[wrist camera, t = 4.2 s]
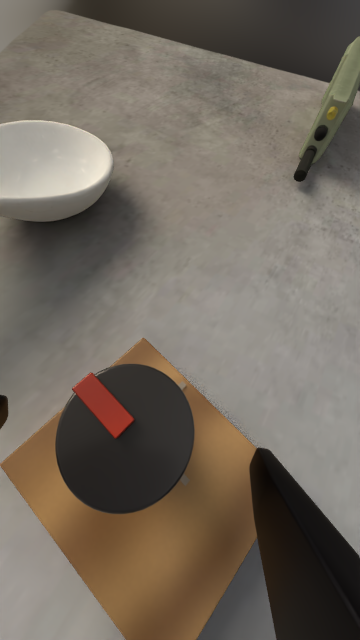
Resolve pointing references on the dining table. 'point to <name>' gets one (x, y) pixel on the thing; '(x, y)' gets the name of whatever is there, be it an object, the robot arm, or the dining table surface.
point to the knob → (124, 438)
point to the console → (152, 523)
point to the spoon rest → (50, 170)
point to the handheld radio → (332, 109)
